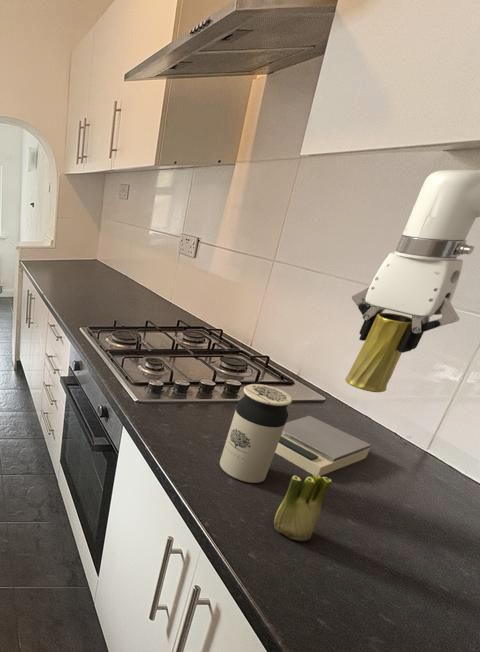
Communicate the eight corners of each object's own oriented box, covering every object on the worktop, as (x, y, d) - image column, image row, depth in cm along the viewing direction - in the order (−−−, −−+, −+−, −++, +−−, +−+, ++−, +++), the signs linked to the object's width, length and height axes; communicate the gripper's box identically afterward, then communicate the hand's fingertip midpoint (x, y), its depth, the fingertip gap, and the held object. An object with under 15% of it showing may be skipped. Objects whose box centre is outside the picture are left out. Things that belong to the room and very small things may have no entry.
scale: (305, 428, 98) (309, 416, 96) (365, 458, 87) (371, 446, 86) (258, 443, 92) (262, 431, 91) (317, 477, 82) (322, 464, 81)
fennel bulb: (269, 535, 69) (292, 478, 64) (268, 515, 73) (289, 461, 68) (313, 550, 66) (340, 492, 62) (309, 529, 70) (334, 473, 65)
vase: (342, 375, 86) (370, 310, 80) (381, 382, 83) (413, 315, 77) (348, 387, 81) (379, 319, 75) (389, 396, 78) (425, 325, 72)
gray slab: (308, 418, 96) (309, 415, 96) (369, 447, 86) (371, 444, 86) (273, 429, 92) (274, 426, 92) (333, 461, 82) (334, 458, 82)
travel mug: (246, 457, 88) (272, 382, 80) (274, 483, 81) (305, 403, 73) (210, 458, 87) (233, 383, 80) (235, 485, 80) (262, 405, 73)
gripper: (512, 255, 65) (456, 359, 72) (380, 239, 80) (345, 327, 87) (488, 259, 63) (433, 366, 70) (356, 241, 77) (322, 332, 84)
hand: (384, 344), depth 78 cm, fingers closed on vase, 5 cm apart
